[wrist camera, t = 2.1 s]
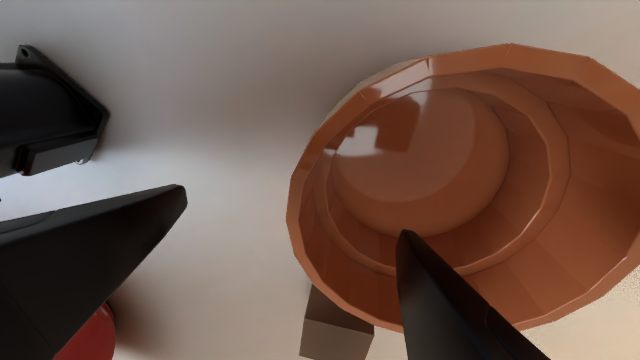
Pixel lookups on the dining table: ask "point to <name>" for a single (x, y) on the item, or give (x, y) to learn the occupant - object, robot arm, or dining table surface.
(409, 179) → the bowl
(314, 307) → the block
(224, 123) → the dining table surface
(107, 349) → the mixing bowl
